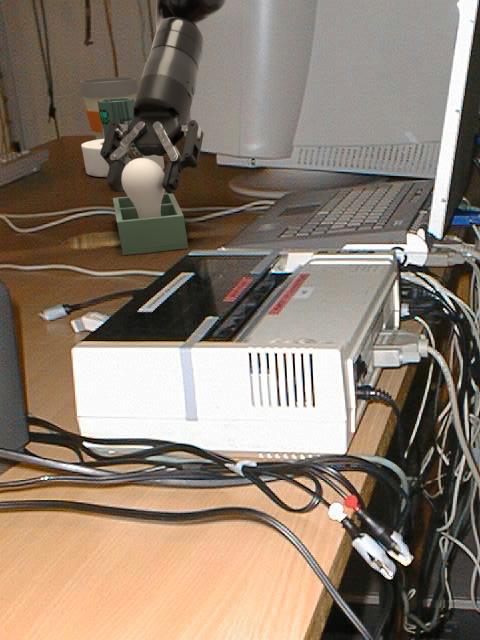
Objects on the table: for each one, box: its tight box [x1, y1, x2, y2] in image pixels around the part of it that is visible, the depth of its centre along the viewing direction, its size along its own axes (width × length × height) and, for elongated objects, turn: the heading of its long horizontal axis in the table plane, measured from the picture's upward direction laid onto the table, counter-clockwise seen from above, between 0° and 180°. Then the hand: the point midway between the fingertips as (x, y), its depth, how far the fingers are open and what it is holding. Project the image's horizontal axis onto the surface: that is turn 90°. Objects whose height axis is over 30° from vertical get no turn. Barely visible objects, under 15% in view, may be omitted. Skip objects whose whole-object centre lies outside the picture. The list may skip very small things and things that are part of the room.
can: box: [97, 98, 144, 192], centre depth 165 cm, size 6×6×15 cm
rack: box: [112, 192, 189, 256], centre depth 133 cm, size 17×9×5 cm, turn 16°
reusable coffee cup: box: [79, 76, 139, 140], centre depth 202 cm, size 13×13×15 cm
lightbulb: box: [121, 158, 166, 219], centre depth 128 cm, size 6×6×11 cm
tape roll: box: [80, 139, 165, 178], centre depth 184 cm, size 16×16×6 cm
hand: (140, 189), depth 126 cm, fingers open, 8 cm apart
